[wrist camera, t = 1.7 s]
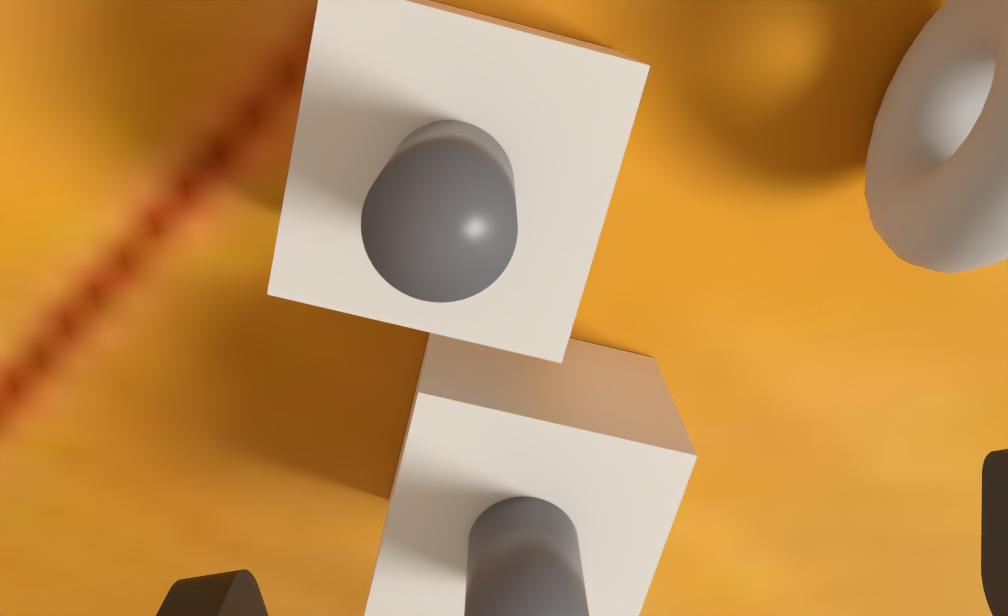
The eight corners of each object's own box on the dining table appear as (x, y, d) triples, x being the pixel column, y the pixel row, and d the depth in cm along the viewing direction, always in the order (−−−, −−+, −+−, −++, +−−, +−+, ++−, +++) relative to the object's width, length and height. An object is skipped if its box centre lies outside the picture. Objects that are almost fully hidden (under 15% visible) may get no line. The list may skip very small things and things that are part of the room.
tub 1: (548, 282, 34) (574, 441, 22) (319, 227, 34) (215, 360, 21) (614, 49, 31) (687, 82, 19) (365, -17, 31) (277, -27, 18)
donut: (930, -59, 30) (1124, -84, 21) (1020, -27, 31) (1251, -37, 21) (812, 213, 34) (935, 298, 24) (895, 239, 34) (1048, 333, 24)
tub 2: (592, 544, 38) (636, 802, 26) (389, 500, 38) (335, 744, 25) (654, 358, 35) (737, 548, 23) (436, 306, 35) (401, 475, 22)
